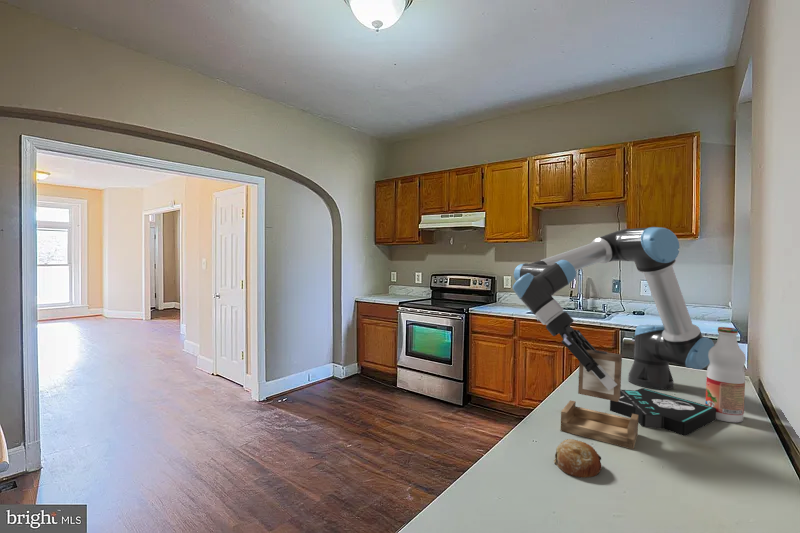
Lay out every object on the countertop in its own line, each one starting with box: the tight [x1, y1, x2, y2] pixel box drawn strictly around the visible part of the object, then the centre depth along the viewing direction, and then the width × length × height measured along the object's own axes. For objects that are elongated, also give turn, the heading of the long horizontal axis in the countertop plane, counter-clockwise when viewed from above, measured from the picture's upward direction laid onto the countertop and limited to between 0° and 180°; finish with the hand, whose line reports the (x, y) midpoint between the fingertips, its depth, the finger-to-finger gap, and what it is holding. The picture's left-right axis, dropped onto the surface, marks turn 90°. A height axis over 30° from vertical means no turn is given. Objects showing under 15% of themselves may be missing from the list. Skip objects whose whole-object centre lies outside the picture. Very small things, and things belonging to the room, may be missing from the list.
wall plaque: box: [609, 387, 717, 437], centre depth 128 cm, size 30×4×30 cm
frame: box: [577, 349, 623, 402], centre depth 113 cm, size 10×5×12 cm, turn 55°
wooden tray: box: [560, 400, 639, 450], centre depth 114 cm, size 18×11×6 cm, turn 55°
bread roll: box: [553, 438, 603, 478], centre depth 95 cm, size 10×10×8 cm
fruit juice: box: [704, 326, 746, 424], centre depth 126 cm, size 9×9×28 cm
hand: (614, 384), depth 111 cm, fingers closed on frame, 5 cm apart
